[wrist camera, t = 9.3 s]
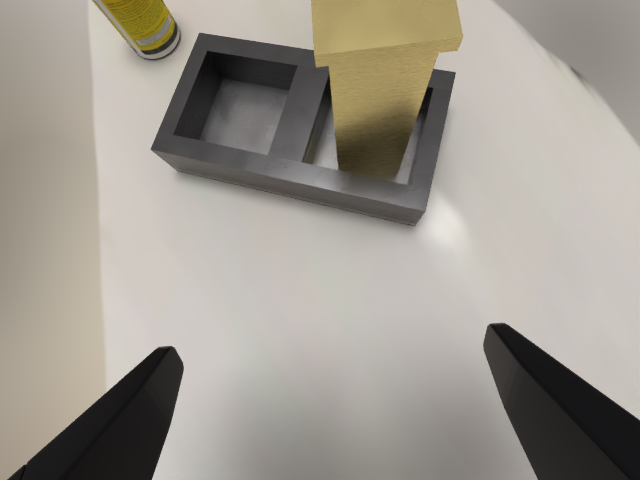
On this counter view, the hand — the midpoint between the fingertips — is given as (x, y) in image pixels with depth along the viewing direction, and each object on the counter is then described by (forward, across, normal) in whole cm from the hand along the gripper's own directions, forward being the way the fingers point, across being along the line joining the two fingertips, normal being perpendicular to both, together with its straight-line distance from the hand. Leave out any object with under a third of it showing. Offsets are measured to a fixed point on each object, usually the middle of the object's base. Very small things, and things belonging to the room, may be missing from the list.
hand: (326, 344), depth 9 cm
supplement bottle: (+29, +15, -10) cm, 34 cm away
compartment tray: (+20, +2, -1) cm, 20 cm away
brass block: (+18, -3, 0) cm, 19 cm away
